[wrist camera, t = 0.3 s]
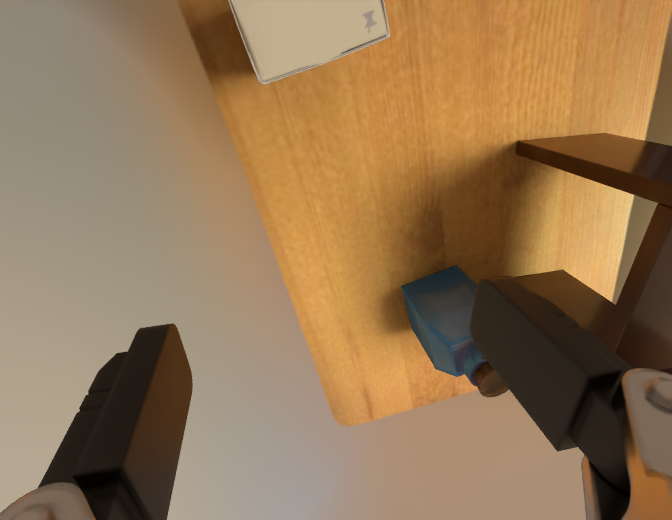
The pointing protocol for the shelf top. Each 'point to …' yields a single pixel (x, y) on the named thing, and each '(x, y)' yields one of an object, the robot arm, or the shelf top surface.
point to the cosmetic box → (305, 32)
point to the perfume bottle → (450, 327)
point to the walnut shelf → (652, 257)
